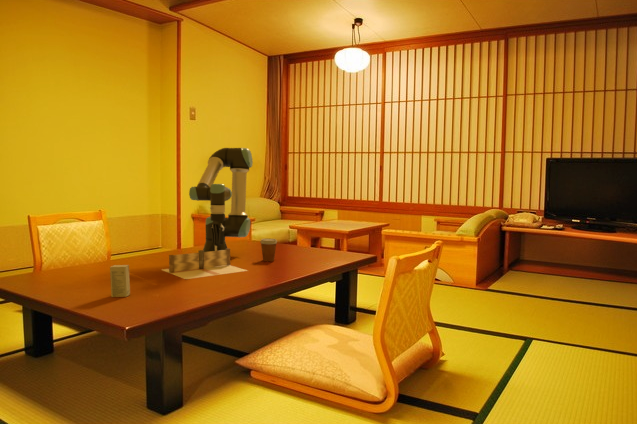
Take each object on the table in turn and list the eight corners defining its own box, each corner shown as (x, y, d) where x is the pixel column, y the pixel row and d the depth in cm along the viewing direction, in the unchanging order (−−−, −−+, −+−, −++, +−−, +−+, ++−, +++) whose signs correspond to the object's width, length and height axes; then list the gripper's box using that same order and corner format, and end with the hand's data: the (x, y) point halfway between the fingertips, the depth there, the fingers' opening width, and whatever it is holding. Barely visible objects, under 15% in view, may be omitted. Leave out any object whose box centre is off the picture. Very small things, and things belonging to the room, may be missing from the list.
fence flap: (204, 268, 255) (204, 251, 255) (202, 267, 257) (202, 250, 256) (230, 264, 265) (230, 248, 264) (228, 264, 266) (228, 248, 266)
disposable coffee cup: (276, 262, 279) (276, 240, 279) (259, 261, 280) (259, 240, 279) (277, 259, 289) (277, 238, 288) (261, 258, 289) (261, 238, 288)
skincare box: (130, 294, 202) (130, 264, 201) (126, 297, 198) (126, 266, 197) (114, 294, 202) (113, 264, 201) (110, 297, 198) (109, 266, 197)
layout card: (160, 270, 252) (160, 269, 252) (220, 263, 274) (220, 262, 274) (185, 280, 230) (185, 279, 230) (248, 271, 252) (248, 270, 252)
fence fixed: (202, 268, 257) (201, 250, 256) (204, 269, 255) (204, 250, 254) (169, 272, 245) (168, 253, 245) (171, 273, 244) (170, 254, 243)
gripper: (205, 212, 266) (205, 256, 268) (217, 214, 256) (217, 259, 258) (218, 212, 271) (218, 255, 273) (230, 213, 261) (230, 258, 263)
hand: (217, 257), depth 265 cm, fingers closed
